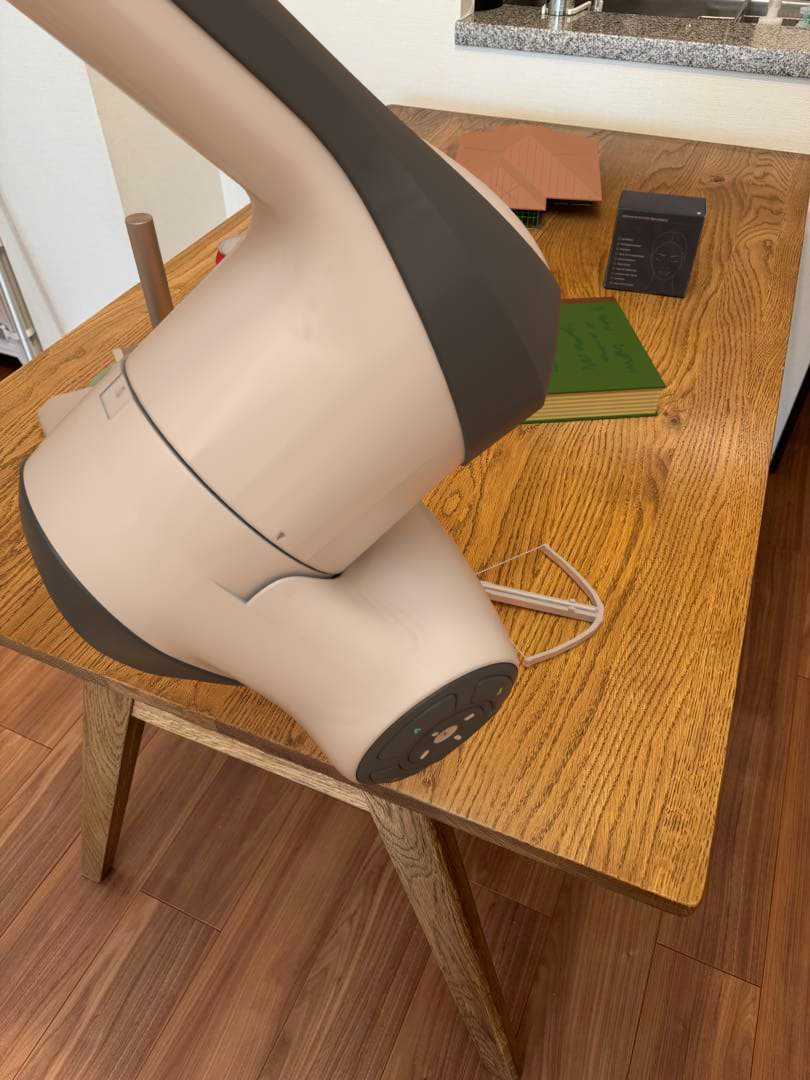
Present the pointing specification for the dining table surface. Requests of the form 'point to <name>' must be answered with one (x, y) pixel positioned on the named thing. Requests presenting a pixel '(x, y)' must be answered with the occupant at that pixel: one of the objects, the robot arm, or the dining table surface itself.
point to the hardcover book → (599, 367)
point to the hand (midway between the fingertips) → (207, 338)
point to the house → (532, 165)
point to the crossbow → (552, 605)
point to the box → (655, 242)
